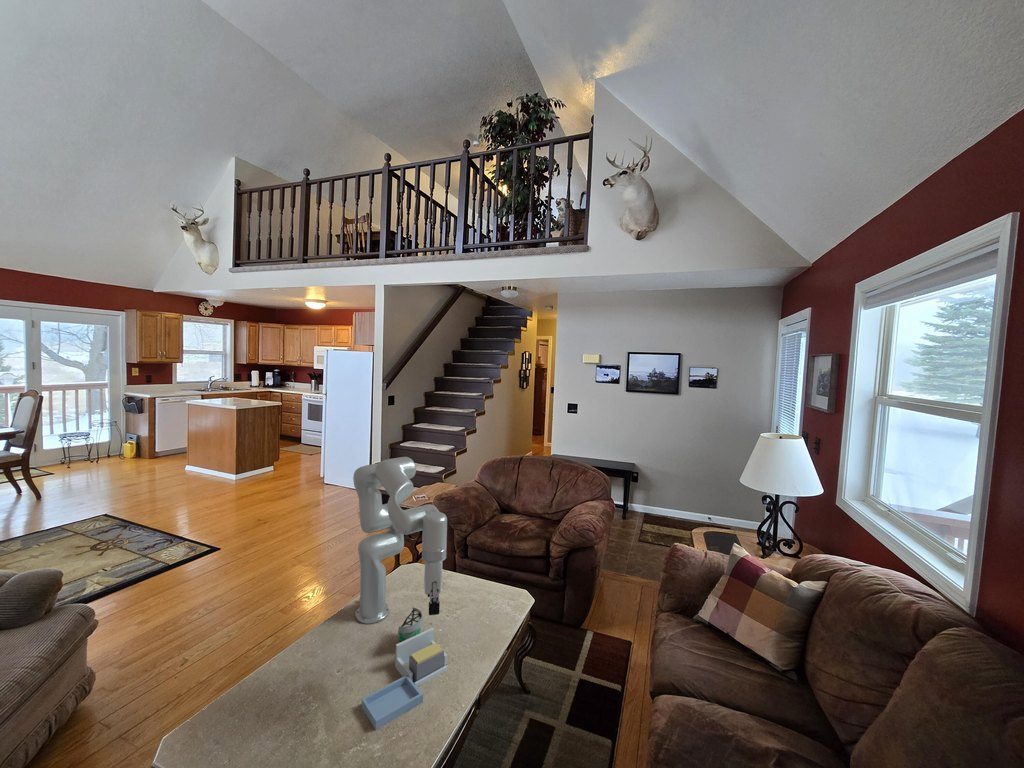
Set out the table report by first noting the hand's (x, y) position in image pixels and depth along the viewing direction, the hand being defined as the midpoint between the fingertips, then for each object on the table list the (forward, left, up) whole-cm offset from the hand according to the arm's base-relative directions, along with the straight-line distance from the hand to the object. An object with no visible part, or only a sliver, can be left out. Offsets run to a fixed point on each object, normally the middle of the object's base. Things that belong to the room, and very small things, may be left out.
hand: (433, 604), depth 137 cm
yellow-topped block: (-4, 0, -25) cm, 26 cm away
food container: (-18, +3, -25) cm, 31 cm away
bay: (-6, +1, -25) cm, 26 cm away
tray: (+1, -14, -25) cm, 29 cm away
